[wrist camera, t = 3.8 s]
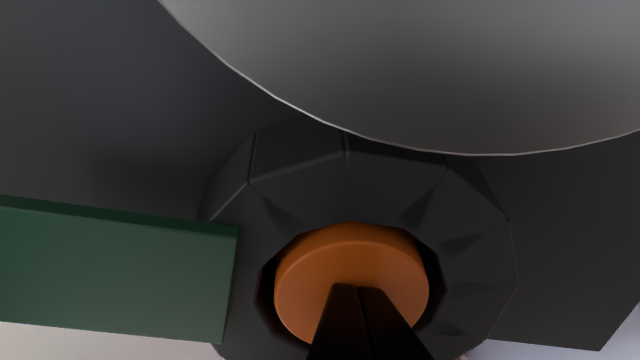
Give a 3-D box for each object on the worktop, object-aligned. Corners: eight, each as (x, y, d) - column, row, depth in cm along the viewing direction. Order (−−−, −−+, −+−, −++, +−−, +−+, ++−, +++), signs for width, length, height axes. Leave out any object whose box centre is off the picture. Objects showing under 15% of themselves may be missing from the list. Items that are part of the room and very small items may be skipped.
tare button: (390, 295, 10) (403, 358, 9) (268, 280, 10) (263, 344, 9) (429, 196, 9) (452, 254, 8) (289, 175, 8) (287, 231, 7)
